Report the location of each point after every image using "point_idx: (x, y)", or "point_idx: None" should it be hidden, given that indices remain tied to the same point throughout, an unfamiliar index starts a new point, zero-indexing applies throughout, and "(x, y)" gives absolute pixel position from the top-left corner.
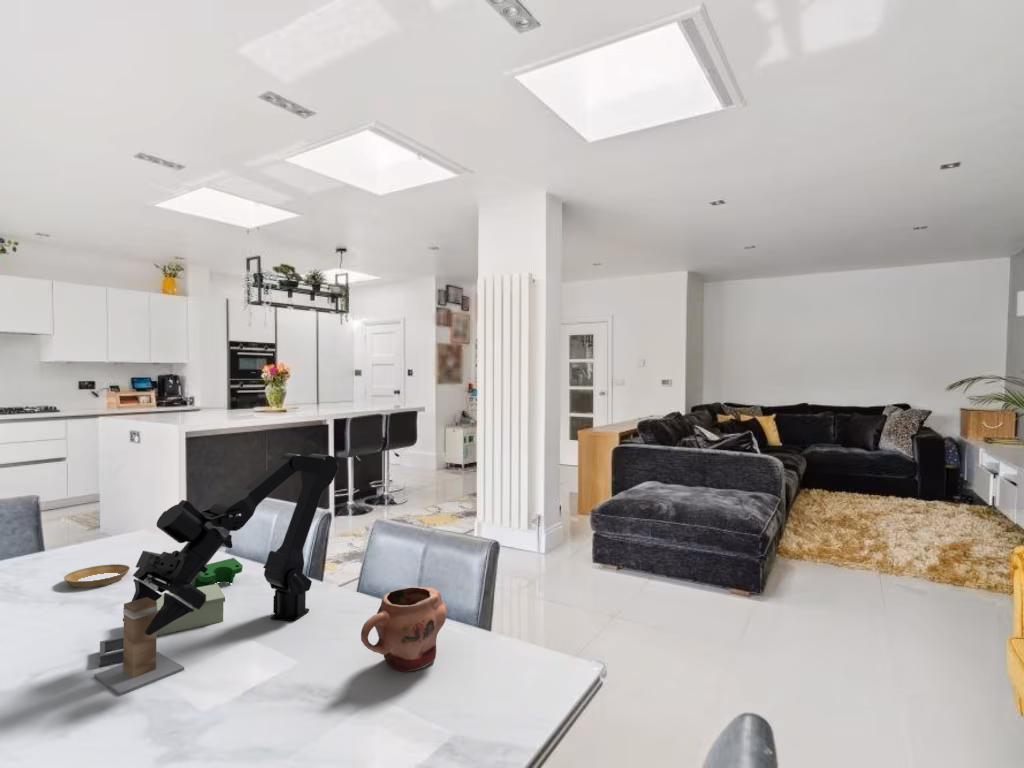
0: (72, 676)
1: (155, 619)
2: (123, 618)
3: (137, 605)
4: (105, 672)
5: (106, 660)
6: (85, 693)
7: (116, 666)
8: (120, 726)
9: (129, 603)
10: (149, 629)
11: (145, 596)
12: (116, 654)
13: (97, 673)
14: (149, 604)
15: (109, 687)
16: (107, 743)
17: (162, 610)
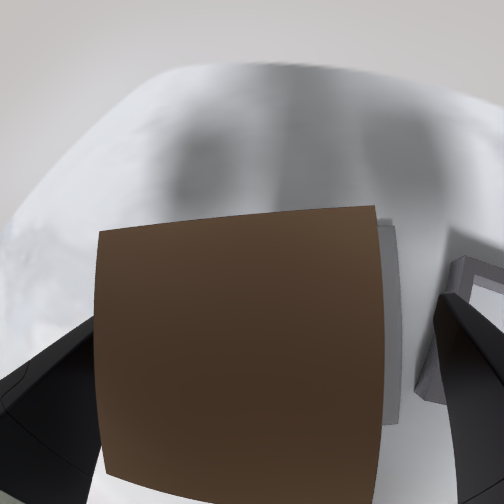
0: (441, 191)
1: (51, 346)
2: (456, 296)
3: (150, 302)
4: (381, 253)
5: (454, 278)
6: (301, 183)
7: (397, 291)
8: (93, 202)
9: (323, 262)
10: None
11: (502, 491)
12: None
13: (393, 234)
14: (102, 403)
15: None
16: (74, 176)
17: (4, 383)
